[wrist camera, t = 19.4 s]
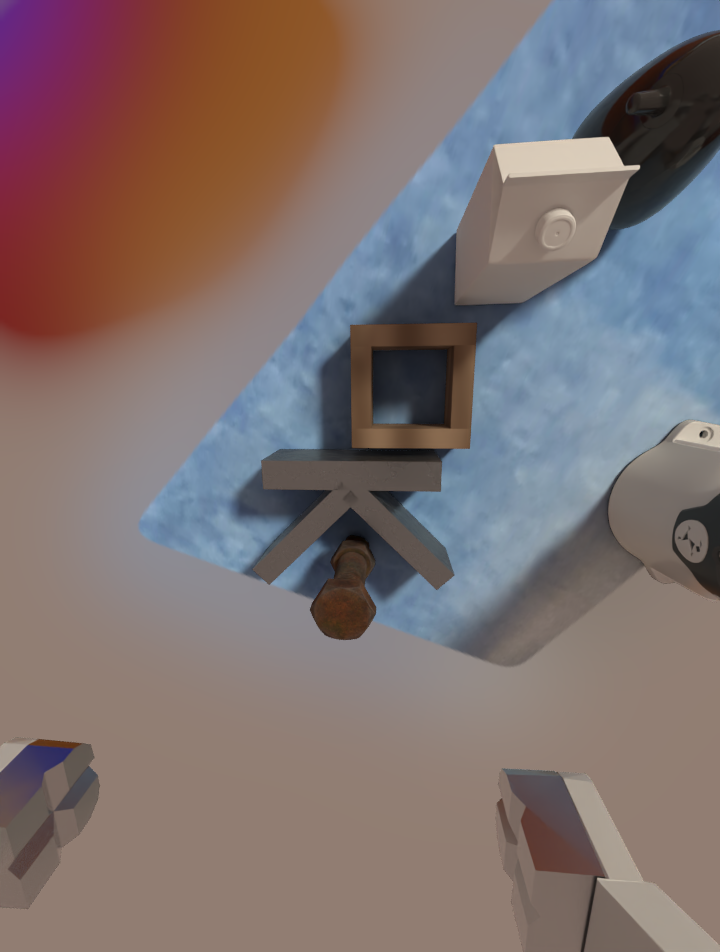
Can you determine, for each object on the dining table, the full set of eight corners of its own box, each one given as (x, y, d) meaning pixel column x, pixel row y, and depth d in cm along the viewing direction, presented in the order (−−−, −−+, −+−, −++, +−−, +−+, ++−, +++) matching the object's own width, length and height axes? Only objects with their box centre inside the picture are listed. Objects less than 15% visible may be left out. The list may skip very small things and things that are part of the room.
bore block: (467, 329, 42) (477, 322, 37) (461, 441, 45) (469, 448, 40) (354, 331, 43) (350, 325, 38) (355, 441, 46) (351, 447, 41)
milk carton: (455, 230, 40) (512, 100, 22) (528, 226, 39) (649, 90, 21) (453, 306, 42) (504, 245, 23) (523, 303, 41) (631, 238, 23)
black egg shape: (537, 143, 38) (632, -10, 23) (652, 107, 36) (831, -81, 22) (552, 257, 40) (648, 183, 25) (662, 226, 39) (831, 128, 24)
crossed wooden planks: (449, 450, 45) (460, 462, 38) (444, 561, 48) (453, 590, 41) (265, 449, 47) (243, 460, 40) (272, 556, 50) (253, 584, 43)
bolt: (361, 573, 49) (349, 653, 35) (327, 552, 49) (300, 624, 35) (386, 537, 48) (384, 604, 34) (351, 515, 48) (334, 574, 33)
